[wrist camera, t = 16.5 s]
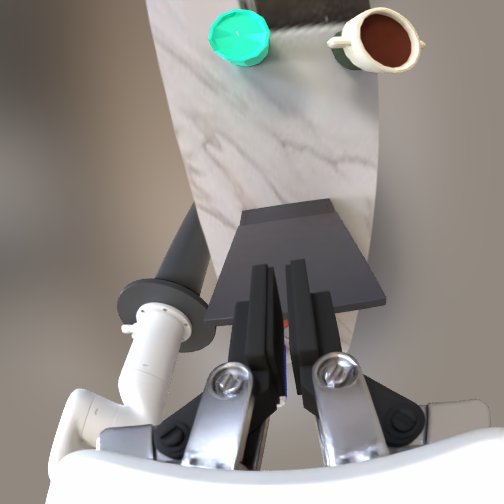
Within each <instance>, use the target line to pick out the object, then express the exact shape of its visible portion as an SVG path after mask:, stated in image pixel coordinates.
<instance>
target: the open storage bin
mask: <svg viewBox="0 0 504 504" xmlns="http://www.w3.org/2000/svg"><path fill="white" fill-rule="evenodd" d="M327 213H335V210H334V208H333V206H332V204H331V201H330V199H321V200H313V201H306V202H299V203H292V204H285V205H278V206H271V207H265V208H258V209H252V210H246V211H242V215H241V221H240V226H243V225H250V224H257V223H263V222H270V221H277V220H284V219H291V218H298V217H305V216H312V215H320V214H327Z"/></svg>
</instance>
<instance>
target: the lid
mask: <svg viewBox="0 0 504 504" xmlns="http://www.w3.org/2000/svg"><path fill="white" fill-rule="evenodd" d="M304 258H305V263H306V269H307V276H308V282H309V289H310V293H316V292H323V291H330V294H331V298H332V303H333V308H334V312H335V313H341V312H347V311H353V310H359V309H365V308H371V307H376V306H382V305H385V304H386V296H385V295H384V292H383V291H382V289H381V287H380V285H379V283H378V281H377V280H376V278H375V276H374V274H373V272H372V271H371V269H370V267H369V265H368V264H367V262H366V260H365V258H364V257H363V255H362V253H361V252H360V250H359V248H358V247H357V245H356V243H355V242H354V240H353V238H352V237H351V235H350V233H349V232H348V230H347V229H346V227H345V225H344V224H343V222H342V221H341V219H340V217H339V216H338V214H337V213H336V212H335V213H327V214H320V215H312V216H305V217H298V218H291V219H284V220H277V221H270V222H263V223H257V224H250V225H243V226H238V229H237V231H236V234H235V237H234V239H233V242H232V244H231V247H230V250H229V252H228V255H227V258H226V260H225V263H224V266H223V268H222V271H221V274H220V276H219V279H218V282H217V284H216V287H215V290H214V293H213V295H212V298H211V301H210V303H209V306H208V309H207V312H206V314H205V317H204V323H205V326H206V327H210V326H224V325H233V318H234V310H235V304H236V302H240V301H249V297H250V286H251V274H252V266H253V265H259V264H266V263H267V264H268V267H274V272H275V277H276V282H277V287H278V292H279V297H280V302H281V308H282V313H283V320H288V306H287V288H286V272H285V265H288V264H291V263H290V260H296V259H304Z"/></svg>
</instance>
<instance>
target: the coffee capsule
mask: <svg viewBox="0 0 504 504" xmlns="http://www.w3.org/2000/svg"><path fill="white" fill-rule="evenodd" d="M284 337H286V338H288V339H289V325H288V320H284Z"/></svg>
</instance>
